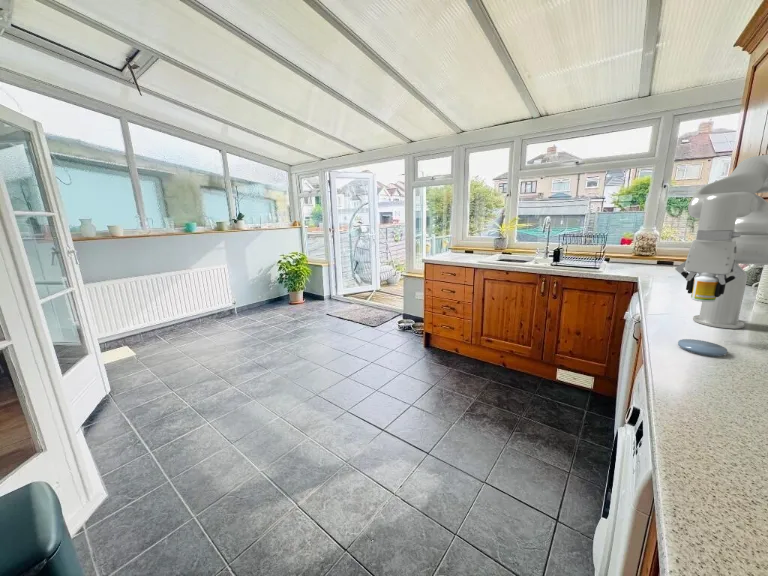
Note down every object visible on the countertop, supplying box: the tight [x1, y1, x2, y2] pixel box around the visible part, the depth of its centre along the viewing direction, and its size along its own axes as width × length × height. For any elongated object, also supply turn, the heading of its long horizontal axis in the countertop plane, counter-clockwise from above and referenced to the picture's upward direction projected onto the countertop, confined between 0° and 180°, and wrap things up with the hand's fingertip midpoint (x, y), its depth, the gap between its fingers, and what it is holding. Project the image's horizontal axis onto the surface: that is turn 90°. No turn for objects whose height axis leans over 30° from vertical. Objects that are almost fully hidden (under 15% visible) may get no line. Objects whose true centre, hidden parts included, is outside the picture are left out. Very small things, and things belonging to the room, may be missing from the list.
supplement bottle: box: [690, 272, 719, 303], centre depth 95 cm, size 5×5×10 cm
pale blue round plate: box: [677, 338, 728, 357], centre depth 90 cm, size 10×10×2 cm
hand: (703, 293), depth 96 cm, fingers closed on supplement bottle, 5 cm apart
